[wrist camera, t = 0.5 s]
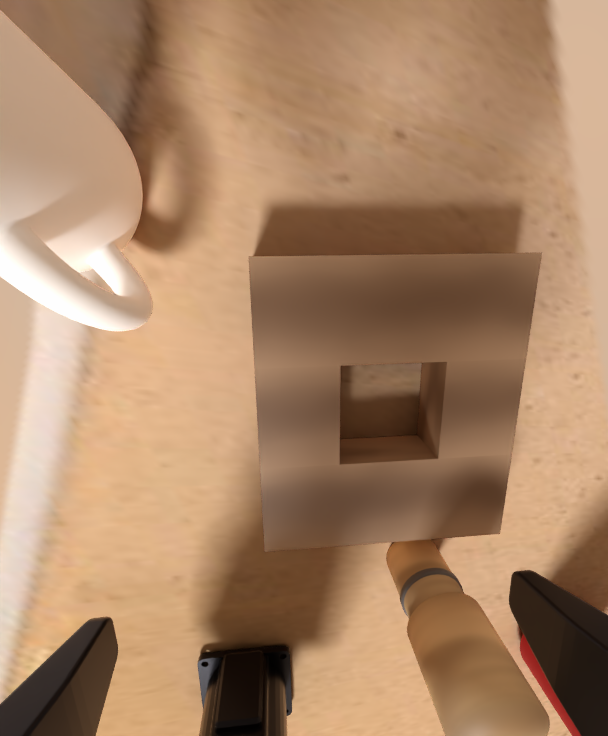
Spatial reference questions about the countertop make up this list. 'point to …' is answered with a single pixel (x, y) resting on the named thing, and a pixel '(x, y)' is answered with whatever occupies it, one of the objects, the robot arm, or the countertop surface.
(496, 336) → the board
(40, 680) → the robot arm
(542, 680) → the beverage can
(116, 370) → the countertop surface
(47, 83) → the mug
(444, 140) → the countertop surface
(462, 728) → the peg
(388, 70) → the countertop surface
